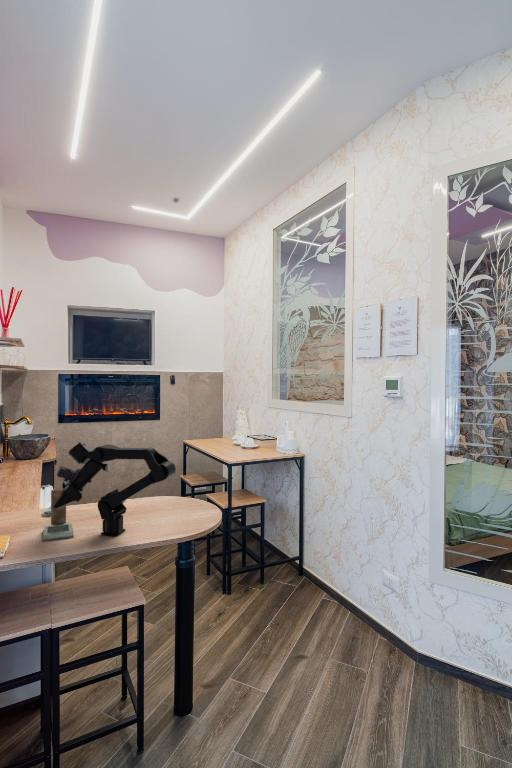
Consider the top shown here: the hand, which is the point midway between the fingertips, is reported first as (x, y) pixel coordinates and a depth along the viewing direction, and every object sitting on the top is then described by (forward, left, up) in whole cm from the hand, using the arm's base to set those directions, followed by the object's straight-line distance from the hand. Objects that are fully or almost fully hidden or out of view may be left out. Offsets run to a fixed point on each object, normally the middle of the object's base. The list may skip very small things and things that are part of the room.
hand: (54, 505), depth 155 cm
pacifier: (+17, -19, -11) cm, 28 cm away
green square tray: (-1, -1, -11) cm, 11 cm away
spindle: (-1, -1, -7) cm, 7 cm away
